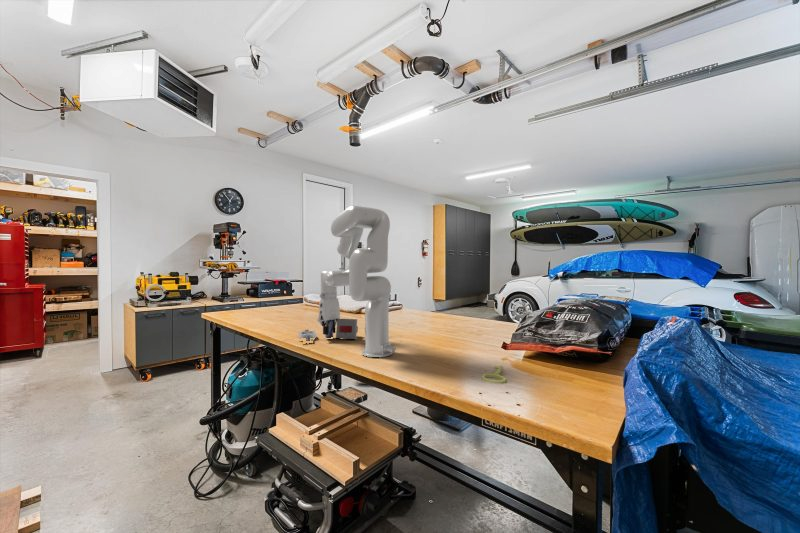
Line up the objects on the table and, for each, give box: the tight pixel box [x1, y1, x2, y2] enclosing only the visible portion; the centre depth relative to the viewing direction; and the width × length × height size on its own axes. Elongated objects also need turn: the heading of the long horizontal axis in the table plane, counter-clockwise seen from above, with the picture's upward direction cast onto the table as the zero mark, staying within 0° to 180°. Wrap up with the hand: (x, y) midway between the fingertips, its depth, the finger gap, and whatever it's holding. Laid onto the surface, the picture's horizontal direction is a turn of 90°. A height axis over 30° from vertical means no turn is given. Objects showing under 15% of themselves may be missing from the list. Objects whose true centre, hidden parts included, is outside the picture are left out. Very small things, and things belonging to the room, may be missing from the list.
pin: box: [324, 320, 334, 338], centre depth 152 cm, size 4×4×10 cm
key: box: [481, 365, 507, 384], centre depth 102 cm, size 7×12×2 cm, turn 167°
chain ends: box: [298, 329, 317, 342], centre depth 154 cm, size 24×8×3 cm, turn 18°
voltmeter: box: [335, 318, 359, 340], centre depth 156 cm, size 27×11×10 cm, turn 114°
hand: (329, 333), depth 152 cm, fingers closed on pin, 3 cm apart
